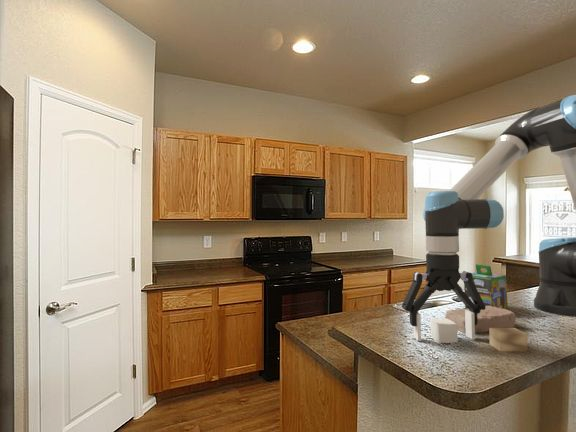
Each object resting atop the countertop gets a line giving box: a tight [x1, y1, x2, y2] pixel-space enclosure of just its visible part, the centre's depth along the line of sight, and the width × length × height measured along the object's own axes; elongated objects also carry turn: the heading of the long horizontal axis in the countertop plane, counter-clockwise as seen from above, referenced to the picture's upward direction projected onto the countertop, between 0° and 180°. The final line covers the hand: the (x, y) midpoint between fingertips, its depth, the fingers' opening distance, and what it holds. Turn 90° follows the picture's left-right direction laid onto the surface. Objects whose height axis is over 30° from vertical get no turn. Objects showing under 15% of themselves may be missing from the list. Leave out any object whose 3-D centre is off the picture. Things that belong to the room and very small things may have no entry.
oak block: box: [488, 327, 528, 352], centre depth 75 cm, size 6×4×4 cm, turn 88°
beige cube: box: [429, 318, 459, 344], centre depth 81 cm, size 4×4×4 cm
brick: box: [444, 306, 516, 334], centre depth 90 cm, size 17×8×5 cm, turn 104°
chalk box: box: [463, 263, 509, 310], centre depth 105 cm, size 9×9×15 cm
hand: (443, 338), depth 80 cm, fingers open, 13 cm apart
